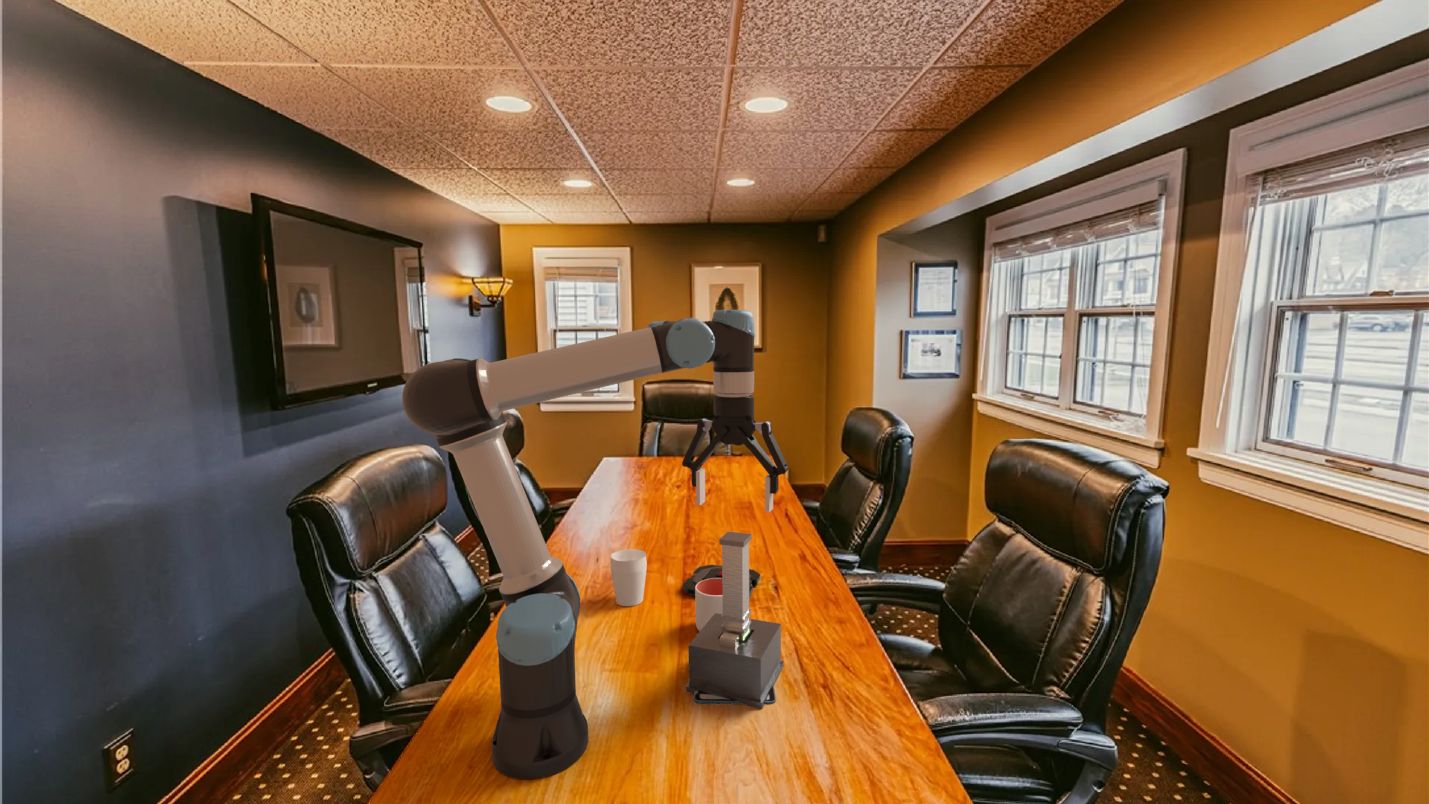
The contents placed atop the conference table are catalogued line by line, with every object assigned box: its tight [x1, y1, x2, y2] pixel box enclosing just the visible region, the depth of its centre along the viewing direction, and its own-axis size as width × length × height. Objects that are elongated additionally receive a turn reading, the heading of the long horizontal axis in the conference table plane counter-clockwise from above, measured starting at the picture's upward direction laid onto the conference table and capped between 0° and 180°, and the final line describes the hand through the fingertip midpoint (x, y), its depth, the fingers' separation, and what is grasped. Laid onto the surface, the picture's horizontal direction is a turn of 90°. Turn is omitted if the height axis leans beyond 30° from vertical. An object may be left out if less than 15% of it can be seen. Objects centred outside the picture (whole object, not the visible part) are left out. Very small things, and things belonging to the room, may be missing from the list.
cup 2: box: [694, 578, 723, 632], centre depth 137 cm, size 10×10×10 cm
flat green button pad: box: [682, 564, 761, 598], centre depth 160 cm, size 18×18×5 cm
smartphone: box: [693, 685, 777, 705], centre depth 113 cm, size 7×1×15 cm
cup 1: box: [610, 548, 648, 607], centre depth 151 cm, size 9×9×12 cm
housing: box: [685, 613, 785, 709], centre depth 117 cm, size 15×15×10 cm
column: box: [718, 531, 752, 644], centre depth 115 cm, size 5×5×21 cm
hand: (734, 507), depth 114 cm, fingers open, 13 cm apart
